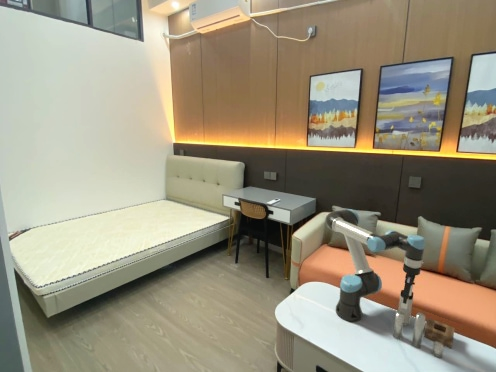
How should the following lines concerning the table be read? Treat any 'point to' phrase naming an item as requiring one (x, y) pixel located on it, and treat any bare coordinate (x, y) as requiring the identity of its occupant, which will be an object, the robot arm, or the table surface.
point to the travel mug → (406, 311)
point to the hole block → (439, 332)
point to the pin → (398, 325)
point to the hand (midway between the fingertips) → (406, 301)
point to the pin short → (438, 349)
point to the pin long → (418, 330)
